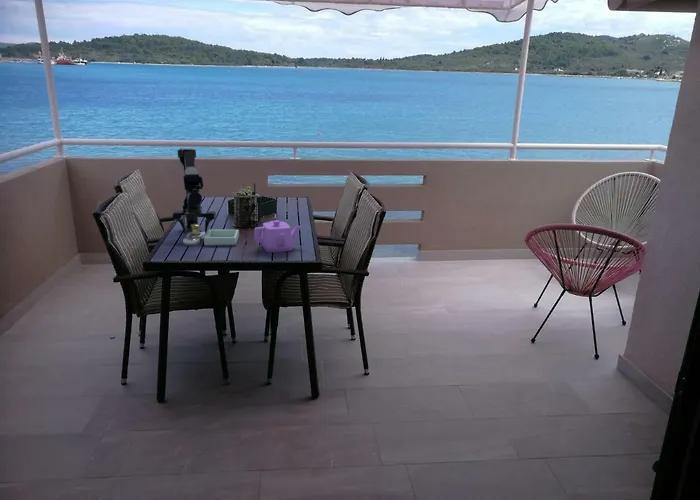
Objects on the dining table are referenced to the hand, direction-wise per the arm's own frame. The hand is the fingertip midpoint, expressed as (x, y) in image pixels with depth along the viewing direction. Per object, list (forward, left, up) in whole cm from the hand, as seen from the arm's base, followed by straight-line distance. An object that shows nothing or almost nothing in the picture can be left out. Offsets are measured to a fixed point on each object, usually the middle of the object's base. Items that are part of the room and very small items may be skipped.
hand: (195, 233), depth 234 cm
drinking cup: (-32, +25, -2) cm, 41 cm away
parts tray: (+6, +13, -2) cm, 14 cm away
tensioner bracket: (+5, 0, -2) cm, 5 cm away
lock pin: (0, 0, -2) cm, 2 cm away
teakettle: (+16, +39, -2) cm, 42 cm away
